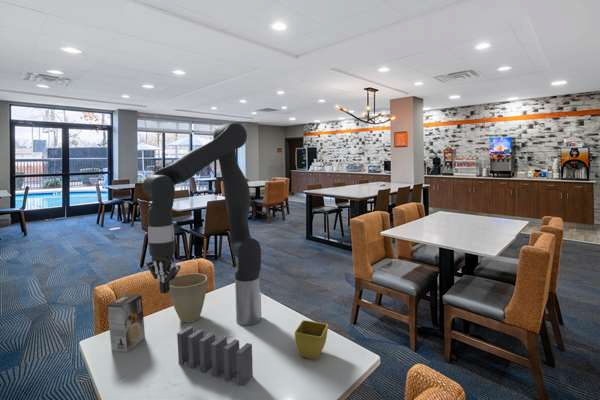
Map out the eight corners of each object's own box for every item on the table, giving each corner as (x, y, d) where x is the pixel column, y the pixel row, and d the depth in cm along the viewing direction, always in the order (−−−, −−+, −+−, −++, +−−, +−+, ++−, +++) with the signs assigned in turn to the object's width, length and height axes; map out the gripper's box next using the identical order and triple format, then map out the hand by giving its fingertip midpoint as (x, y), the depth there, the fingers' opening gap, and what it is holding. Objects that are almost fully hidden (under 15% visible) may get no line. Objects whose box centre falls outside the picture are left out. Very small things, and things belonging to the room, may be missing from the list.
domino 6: (248, 375, 97) (247, 342, 96) (252, 376, 97) (251, 344, 95) (237, 385, 93) (236, 351, 92) (242, 387, 92) (241, 353, 91)
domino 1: (190, 355, 107) (189, 325, 106) (194, 356, 107) (193, 327, 106) (178, 363, 103) (177, 333, 102) (182, 365, 102) (180, 334, 101)
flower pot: (328, 349, 110) (328, 323, 109) (321, 365, 102) (321, 337, 101) (303, 345, 113) (303, 319, 112) (294, 359, 105) (294, 332, 103)
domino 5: (235, 370, 99) (234, 339, 98) (240, 372, 99) (239, 340, 97) (224, 380, 95) (223, 347, 94) (229, 382, 94) (228, 349, 93)
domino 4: (223, 366, 101) (222, 335, 100) (228, 368, 101) (226, 336, 99) (212, 376, 97) (211, 343, 96) (216, 377, 96) (215, 345, 95)
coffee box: (129, 336, 120) (126, 293, 118) (145, 337, 118) (142, 294, 116) (110, 350, 111) (106, 304, 109) (127, 352, 109) (123, 305, 107)
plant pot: (193, 306, 143) (191, 270, 141) (216, 316, 134) (215, 277, 132) (161, 320, 131) (159, 281, 129) (184, 331, 122) (182, 290, 120)
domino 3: (212, 362, 103) (211, 332, 102) (216, 364, 103) (215, 333, 101) (200, 371, 99) (199, 340, 98) (205, 373, 98) (203, 341, 97)
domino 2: (201, 358, 105) (199, 329, 104) (205, 360, 105) (203, 330, 103) (189, 367, 101) (187, 336, 100) (193, 369, 100) (191, 337, 99)
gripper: (186, 238, 104) (189, 291, 106) (156, 234, 110) (160, 285, 112) (167, 244, 98) (170, 300, 100) (136, 239, 104) (140, 293, 106)
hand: (164, 292), depth 106 cm, fingers closed
